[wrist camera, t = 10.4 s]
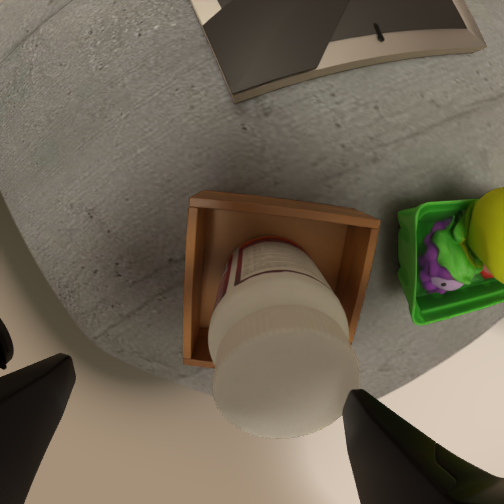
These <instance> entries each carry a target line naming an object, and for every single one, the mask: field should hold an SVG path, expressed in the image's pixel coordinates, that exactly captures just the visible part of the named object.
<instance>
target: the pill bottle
mask: <svg viewBox="0 0 504 504" xmlns="http://www.w3.org/2000/svg"><path fill="white" fill-rule="evenodd" d="M208 345H209V351H210V355H211V358H212V360H213V363H214V365H215V370H214V376H213V383H212V390H213V397H214V400H215V403H216V405H217V408H218V409H219V411H220V412H221V414H222V415H223V416H224V417H225V418H226V419H227V420H228V421H229V422H230V423H231V424H233V425H234V426H235V427H237V428H239V429H240V430H242V431H244V432H247V433H249V434H252V435H256V436H260V437H265V438H274V439H284V438H294V437H300V436H304V435H308V434H311V433H314V432H316V431H318V430H321V429H322V428H324V427H326V426H328V425H330V424H331V423H333V422H334V421H335V420H337V419H338V418H339V417H340V416H341V415H342V410H343V406H344V404H345V401H346V399H347V396H348V393H349V392H350V390H352V389H359V386H360V367H359V363H358V360H357V358H356V355H355V353H354V351H353V349H352V347H351V345H350V342H349V327H348V322H347V318H346V315H345V312H344V309H343V307H342V305H341V304H340V301H339V299H338V298H337V296H336V295H335V294H334V292H333V291H332V289H331V288H330V286H329V285H328V283H327V282H326V280H325V279H324V277H323V275H322V274H321V272H320V271H319V269H318V268H317V266H316V265H315V263H314V261H313V260H312V259H311V257H310V256H309V255H308V253H307V252H306V251H305V250H304V249H303V248H302V247H301V246H300V245H298V244H297V243H296V242H294V241H292V240H290V239H287V238H284V237H280V236H273V235H265V236H259V237H256V238H253V239H250V240H248V241H246V242H244V243H243V244H241V245H240V246H239V247H238V248H236V249H235V250H234V251H233V253H232V254H231V255H230V257H229V258H228V260H227V262H226V264H225V266H224V269H223V272H222V275H221V280H220V284H219V288H218V292H217V296H216V300H215V304H214V309H213V313H212V316H211V321H210V326H209V332H208Z"/></svg>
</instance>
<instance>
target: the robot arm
mask: <svg viewBox="0 0 504 504" xmlns="http://www.w3.org/2000/svg"><path fill="white" fill-rule="evenodd" d="M0 368H1V369H3V370H5V369H6V368H7V366H6V363H5V360H4V356H3V353H2V350H1V347H0ZM75 380H76V374H75V370H74V366H73V361H72V358H71V356H69V355H66V354H62V353H59V354H56V355H54V356H51V357H49V358H47V359H44V360H42V361H39V362H37V363H34V364H32V365H30V366H27V367H25V368H22V369H19V370H17V371H15V372H12V373H10V374H7V375H5V376H2V377H0V504H24V502H25V499H26V497H27V495H28V492H29V489H30V487H31V484H32V482H33V480H34V477H35V475H36V473H37V470H38V468H39V466H40V463H41V461H42V459H43V456H44V454H45V452H46V450H47V448H48V445H49V443H50V441H51V439H52V437H53V435H54V433H55V430H56V428H57V426H58V424H59V422H60V420H61V418H62V416H63V413H64V410H65V408H66V405H67V402H68V399H69V396H70V394H71V391H72V389H73V386H74V384H75ZM342 415H343V421H344V429H345V435H346V444H347V451H348V455H349V459H350V463H351V467H352V471H353V475H354V478H355V483H356V487H357V491H358V495H359V499H360V503H361V504H504V478H500V477H496V476H494V475H491V474H490V473H488V472H486V471H484V470H482V469H480V468H478V467H476V466H474V465H472V464H470V463H468V462H467V461H465V460H463V459H461V458H460V457H457V456H456V455H455V454H453V453H451V452H450V451H448V450H447V449H445V448H444V447H442V446H441V445H439V444H438V443H436V442H435V441H434V440H432V439H431V438H429V437H428V436H426V435H425V434H424V433H422V432H421V431H419V430H418V429H417V428H415V427H414V426H412V425H411V424H410V423H408V422H407V421H406V420H404V419H403V418H401V417H400V416H398V415H397V414H396V413H395V412H393V411H392V410H390V409H389V408H387V407H386V406H385V405H384V404H382V403H381V402H379V401H378V400H377V399H376V398H374V397H373V396H372V395H370V394H369V393H368V392H366V391H365V390H363V389H352V390H350V392H349V393H348V396H347V399H346V401H345V404H344V406H343V410H342Z"/></svg>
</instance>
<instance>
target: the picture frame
mask: <svg viewBox="0 0 504 504" xmlns="http://www.w3.org/2000/svg"><path fill="white" fill-rule="evenodd" d="M189 1H190V3H191V5H192V8H193V10H194V12H195V14H196V16H197V18H198V21H199V23H200V25H201V27H202V30H203V32H204V34H205V36H206V38H207V41H208V43H209V45H210V48H211V50H212V52H213V54H214V57H215V59H216V61H217V64H218V66H219V68H220V71H221V73H222V75H223V78H224V80H225V82H226V85H227V87H228V89H229V92H230V94H231V97H232V99H233V101H234V104H235V103H238V102H241V101H244V100H246V99H249V98H252V97H255V96H258V95H261V94H264V93H267V92H270V91H273V90H276V89H279V88H282V87H286V86H289V85H292V84H296V83H299V82H303V81H306V80H310V79H313V78H317V77H321V76H325V75H329V74H333V73H337V72H341V71H345V70H350V69H354V68H359V67H364V66H369V65H374V64H379V63H385V62H391V61H397V60H403V59H410V58H417V57H425V56H434V55H445V54H457V53H473V52H476V51H479V50H481V49H484V48H486V47H487V45H486V43H485V41H484V39H483V37H482V35H481V32H480V30H479V28H478V26H477V24H476V22H475V20H474V18H473V17H472V15H471V13H470V11H469V9H468V7H467V5H466V4H465V2H464V0H189Z"/></svg>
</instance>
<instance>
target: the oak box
mask: <svg viewBox="0 0 504 504" xmlns="http://www.w3.org/2000/svg"><path fill="white" fill-rule="evenodd" d="M380 222H381V221H380V220H378V219H376V218H374V217H372V216H370V215H367V214H365V213H363V212H361V211H358V210H356V209H354V208H347V207H341V206H334V205H327V204H320V203H313V202H305V201H298V200H290V199H282V198H274V197H265V196H256V195H247V194H238V193H228V192H218V191H207V190H203V191H201V192H199V193H197V194H195V195H193V196H191V197H190V198H189V208H188V222H187V238H186V255H185V277H184V307H183V364H185V365H192V366H199V367H207V368H215V365H214V363H213V360H212V358H211V355H210V351H209V345H208V332H209V326H210V321H211V316H212V313H213V309H214V304H215V300H216V296H217V292H218V288H219V284H220V280H221V275H222V272H223V269H224V266H225V264H226V262H227V260H228V258H229V257H230V255H231V254H232V253H233V251H234V250H235V249H236V248H238V247H239V246H240V245H241V244H243V243H244V242H246V241H248V240H250V239H253V238H256V237H259V236H265V235H273V236H280V237H284V238H287V239H290V240H292V241H294V242H296V243H297V244H298V245H300V246H301V247H302V248H303V249H304V250H305V251H306V252H307V253H308V255H309V256H310V257H311V259H312V260H313V261H314V263H315V265H316V266H317V268H318V269H319V271H320V272H321V274H322V275H323V277H324V279H325V280H326V282H327V283H328V285H329V286H330V288H331V289H332V291H333V292H334V294H335V295H336V296H337V298H338V299H339V301H340V304H341V305H342V307H343V309H344V312H345V315H346V318H347V322H348V327H349V342H350V345H351V344H352V341H353V337H354V334H355V330H356V327H357V323H358V320H359V316H360V312H361V308H362V305H363V301H364V297H365V293H366V289H367V285H368V280H369V276H370V272H371V267H372V263H373V258H374V253H375V248H376V243H377V238H378V233H379V230H378V229H379V228H380Z"/></svg>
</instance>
